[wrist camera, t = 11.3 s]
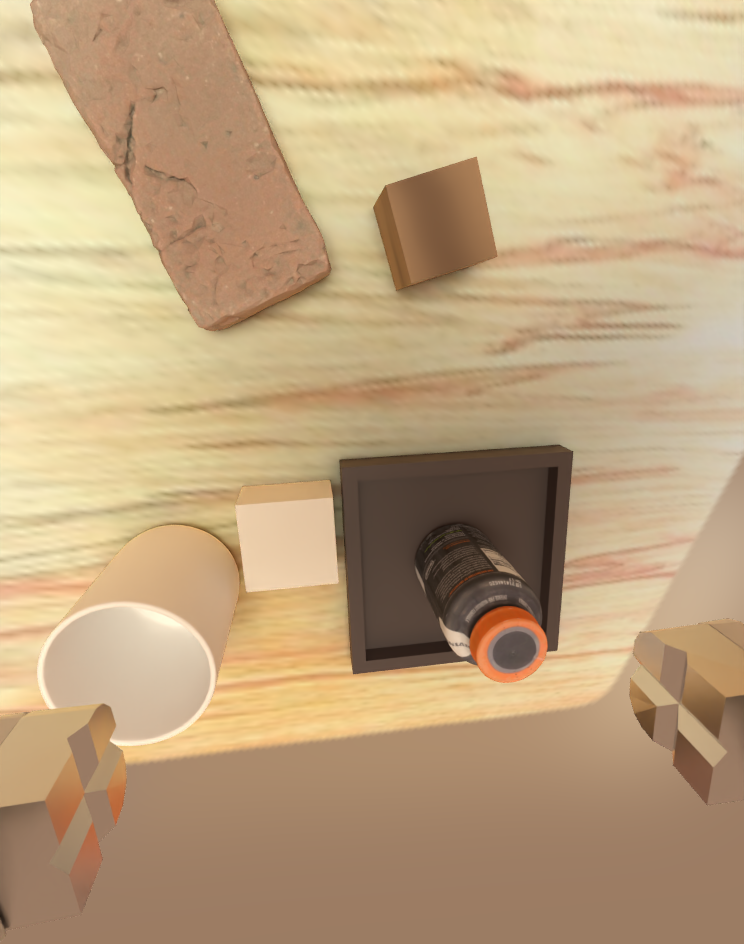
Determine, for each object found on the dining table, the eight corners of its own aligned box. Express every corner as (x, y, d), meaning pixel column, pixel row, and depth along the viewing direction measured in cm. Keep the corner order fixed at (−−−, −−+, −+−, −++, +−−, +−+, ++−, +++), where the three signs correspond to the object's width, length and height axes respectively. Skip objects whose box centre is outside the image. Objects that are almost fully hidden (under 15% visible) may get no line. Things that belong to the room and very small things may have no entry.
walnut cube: (450, 183, 31) (476, 156, 26) (469, 266, 32) (497, 256, 27) (373, 207, 31) (385, 185, 26) (395, 290, 32) (411, 284, 27)
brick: (55, 44, 27) (4, -13, 22) (196, -27, 27) (174, -98, 22) (215, 335, 32) (201, 337, 27) (334, 277, 32) (338, 269, 27)
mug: (60, 619, 35) (-40, 738, 25) (166, 496, 34) (105, 569, 24) (163, 681, 38) (110, 812, 27) (266, 568, 36) (250, 663, 26)
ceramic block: (330, 478, 35) (332, 497, 31) (335, 556, 37) (338, 583, 33) (242, 485, 34) (234, 505, 31) (252, 564, 36) (246, 592, 32)
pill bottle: (415, 599, 38) (459, 708, 27) (411, 526, 36) (456, 612, 25) (491, 588, 38) (565, 691, 28) (491, 517, 37) (569, 596, 26)
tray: (559, 444, 36) (573, 451, 34) (545, 635, 41) (557, 650, 39) (339, 460, 35) (341, 467, 33) (350, 657, 39) (353, 674, 37)
